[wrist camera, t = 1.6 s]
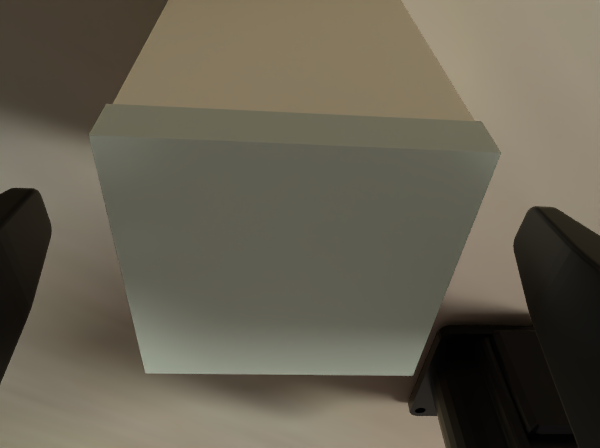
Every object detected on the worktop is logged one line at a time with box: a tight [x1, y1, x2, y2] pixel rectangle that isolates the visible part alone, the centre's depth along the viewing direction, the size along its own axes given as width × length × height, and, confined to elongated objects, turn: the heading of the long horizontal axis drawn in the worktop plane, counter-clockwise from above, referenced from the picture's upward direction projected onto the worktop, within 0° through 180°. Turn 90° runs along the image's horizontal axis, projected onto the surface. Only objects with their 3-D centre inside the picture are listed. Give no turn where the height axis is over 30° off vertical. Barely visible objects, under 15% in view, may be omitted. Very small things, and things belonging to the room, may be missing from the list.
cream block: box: [89, 0, 501, 376], centre depth 10 cm, size 5×5×7 cm
